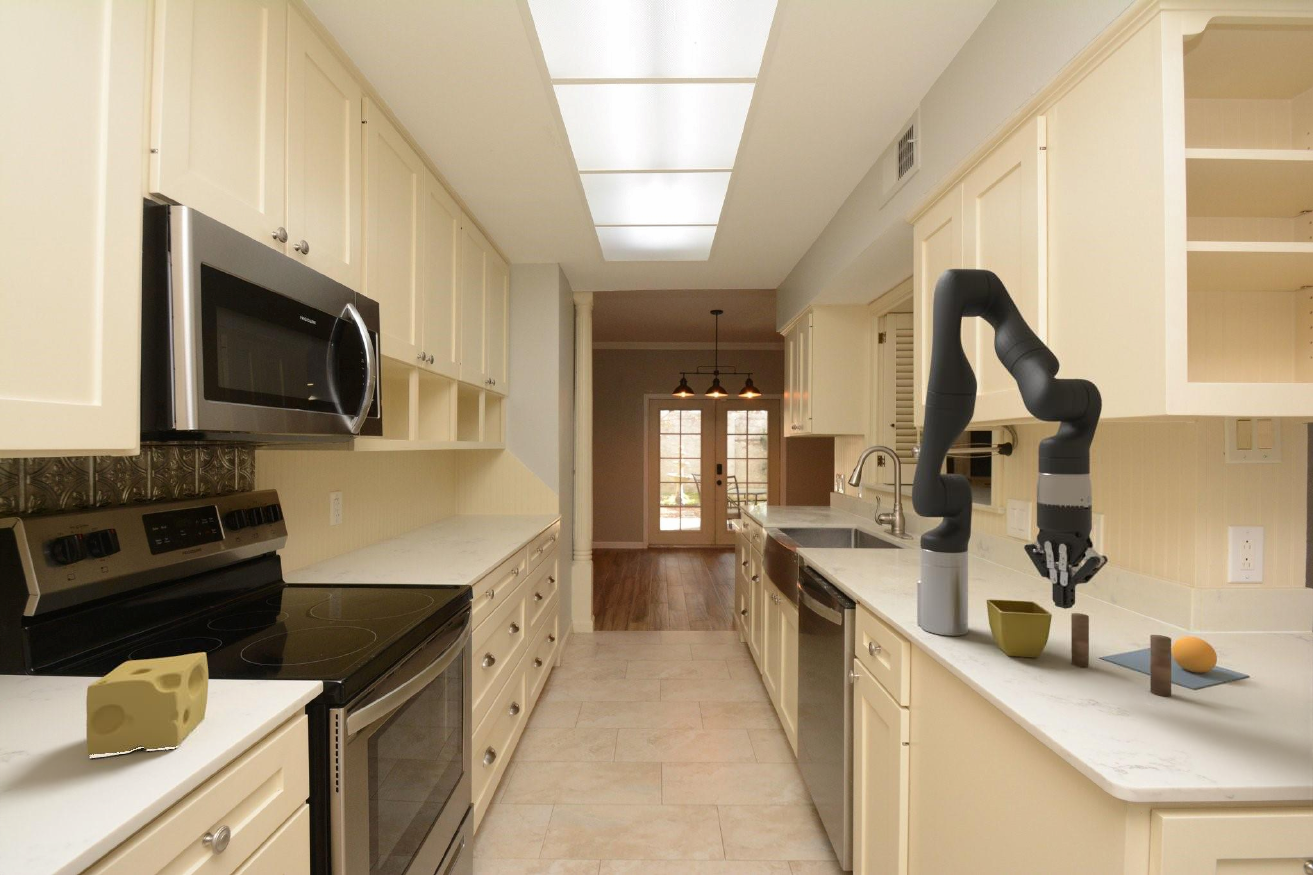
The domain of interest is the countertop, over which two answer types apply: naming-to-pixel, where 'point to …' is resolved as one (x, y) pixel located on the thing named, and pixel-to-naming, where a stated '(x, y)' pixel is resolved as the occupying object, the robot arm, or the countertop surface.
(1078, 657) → the inner post
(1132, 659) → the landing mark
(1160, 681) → the outer post
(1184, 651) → the ball
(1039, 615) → the flower pot
